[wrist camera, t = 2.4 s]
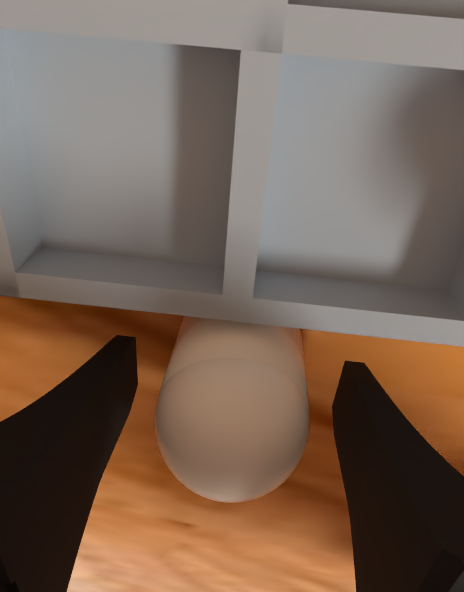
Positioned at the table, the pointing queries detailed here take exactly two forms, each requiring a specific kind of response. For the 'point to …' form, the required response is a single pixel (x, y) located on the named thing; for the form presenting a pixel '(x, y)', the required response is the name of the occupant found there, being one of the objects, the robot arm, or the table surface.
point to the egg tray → (238, 160)
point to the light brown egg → (233, 408)
